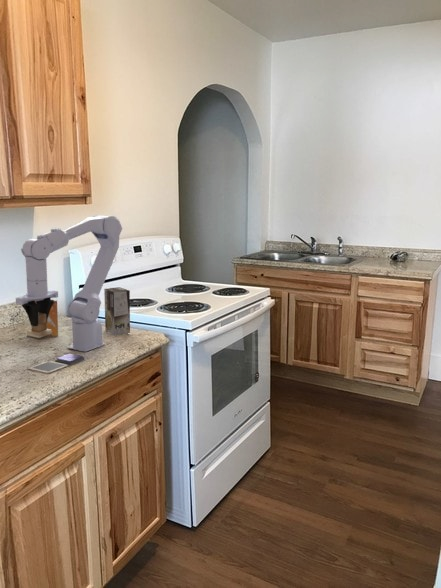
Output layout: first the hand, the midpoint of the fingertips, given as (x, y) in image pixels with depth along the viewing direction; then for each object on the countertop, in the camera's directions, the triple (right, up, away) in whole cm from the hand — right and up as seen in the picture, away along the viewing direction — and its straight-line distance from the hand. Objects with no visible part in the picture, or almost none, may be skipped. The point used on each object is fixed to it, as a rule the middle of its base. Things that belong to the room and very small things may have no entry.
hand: (38, 324), depth 149 cm
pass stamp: (0, -4, +1) cm, 4 cm away
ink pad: (+10, -11, -1) cm, 15 cm away
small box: (-7, -6, +27) cm, 29 cm away
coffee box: (+17, -5, +33) cm, 38 cm away
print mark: (+5, -12, -7) cm, 15 cm away
